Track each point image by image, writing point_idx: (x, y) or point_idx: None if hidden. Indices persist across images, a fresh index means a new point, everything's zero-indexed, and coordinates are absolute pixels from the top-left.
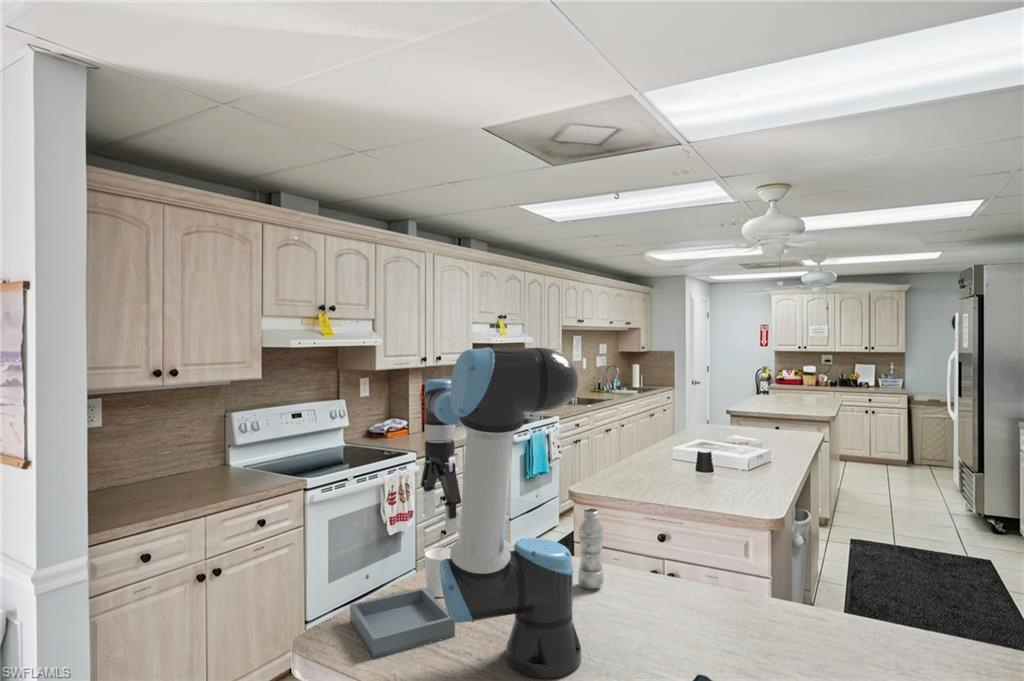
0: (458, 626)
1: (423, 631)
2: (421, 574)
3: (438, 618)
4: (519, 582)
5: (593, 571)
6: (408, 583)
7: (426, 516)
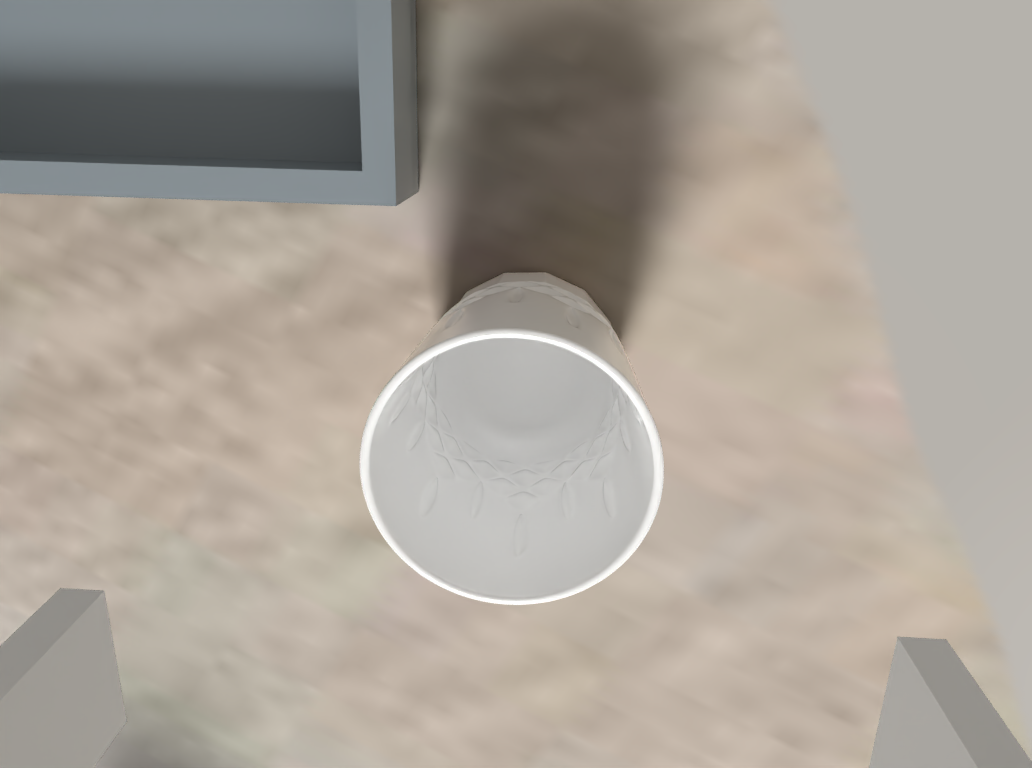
0: (35, 249)
1: None
2: (882, 372)
3: (80, 155)
4: None
5: None
6: (798, 228)
7: (894, 652)
